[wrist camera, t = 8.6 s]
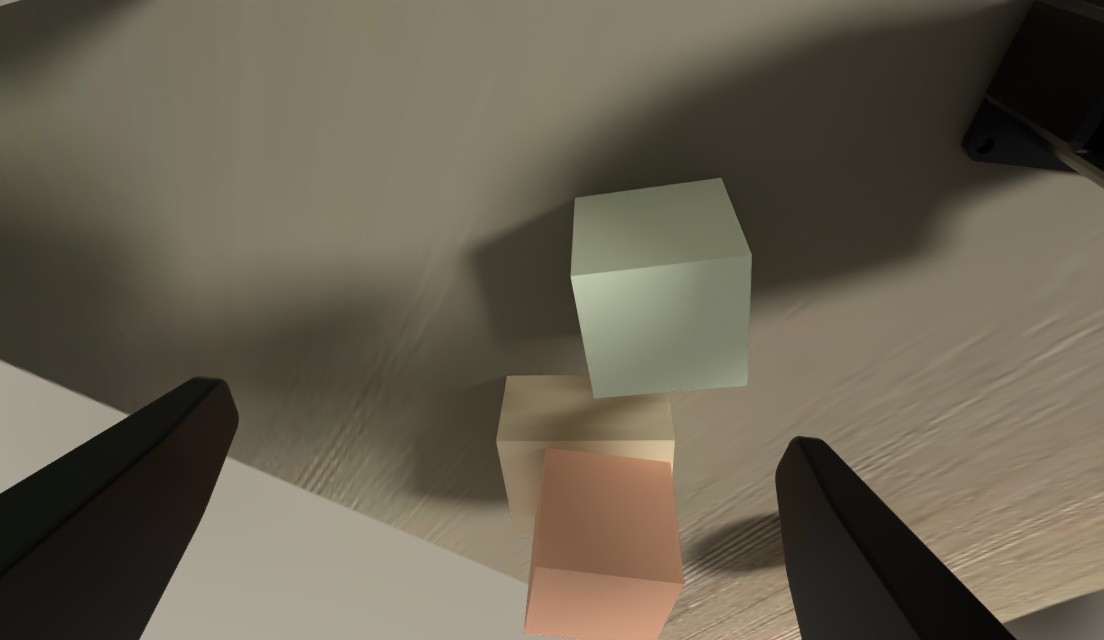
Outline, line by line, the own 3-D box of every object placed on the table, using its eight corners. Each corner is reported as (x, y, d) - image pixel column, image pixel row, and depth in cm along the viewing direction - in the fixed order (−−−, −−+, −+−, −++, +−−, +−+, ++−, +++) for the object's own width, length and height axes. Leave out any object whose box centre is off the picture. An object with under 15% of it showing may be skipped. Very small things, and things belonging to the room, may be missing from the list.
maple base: (665, 369, 26) (675, 440, 23) (659, 468, 30) (666, 540, 27) (507, 371, 26) (496, 440, 23) (523, 468, 31) (515, 538, 28)
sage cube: (720, 176, 20) (751, 255, 16) (721, 295, 23) (747, 385, 19) (575, 196, 21) (570, 276, 17) (594, 308, 24) (593, 398, 20)
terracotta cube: (670, 462, 23) (684, 584, 19) (644, 531, 27) (652, 648, 23) (546, 447, 23) (535, 566, 19) (534, 518, 26) (523, 633, 23)
